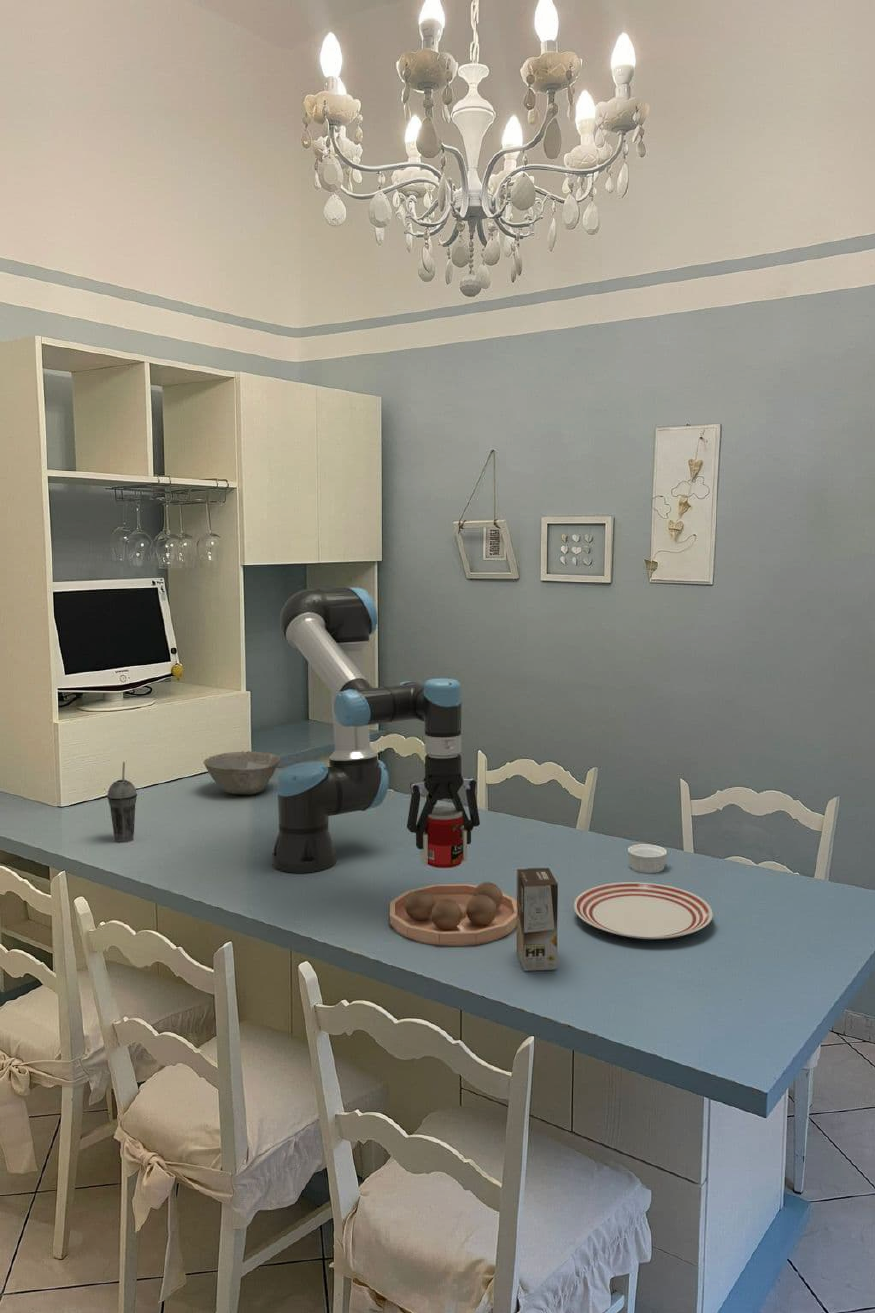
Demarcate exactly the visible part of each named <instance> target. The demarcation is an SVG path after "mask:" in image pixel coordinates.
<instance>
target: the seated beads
mask: <svg viewBox="0 0 875 1313" xmlns="http://www.w3.org/2000/svg"><path fill="white" fill-rule="evenodd" d="M477 886H478V887H477V888H476V889H475V891H474V894H473V898H472V899H471V900H470V901H469V902H468V904H467V908H466V913H467V917H468V919H469V920H470V921H471V922H472V923H473V924H475V925H477V926H486V925H488V924H490V923H491V922H492V921H493V920H494V919H495V917H496V912H497V910H496V909H498V908H499V907H500V905H501V903H502V898H503V897H502V893H503V891H502V889H501V888H500V887H499V886H498V885H497V884H495V883H493V882H489V881H485V882H483V883H480V884H479V885H477ZM405 910H406V912H407V914H408V916H409V917H411V918H412V919H414V920H417V921H423V920H426V919H428V918H429V917H430V916H431V918H432V921H433V923H434V925H435V926H436V927H437V928H439V929H441V930H444V931H449V930H452V929H454V928H456V927H457V926H458V925H459V923H460V921H461V918H462V912H461V908H460V907H459V905H458V904H457V903H456V902H455V901H453V900H450V899H443V900H440V901H438V902H437V903H436V904H435V903H434V899H433V897H432V896H431V895H430V894H429V893H428V892H426V891H424V890H416V891H413V892H412V893H410V894H409V895H408V897H407V899H406V901H405Z"/></svg>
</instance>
